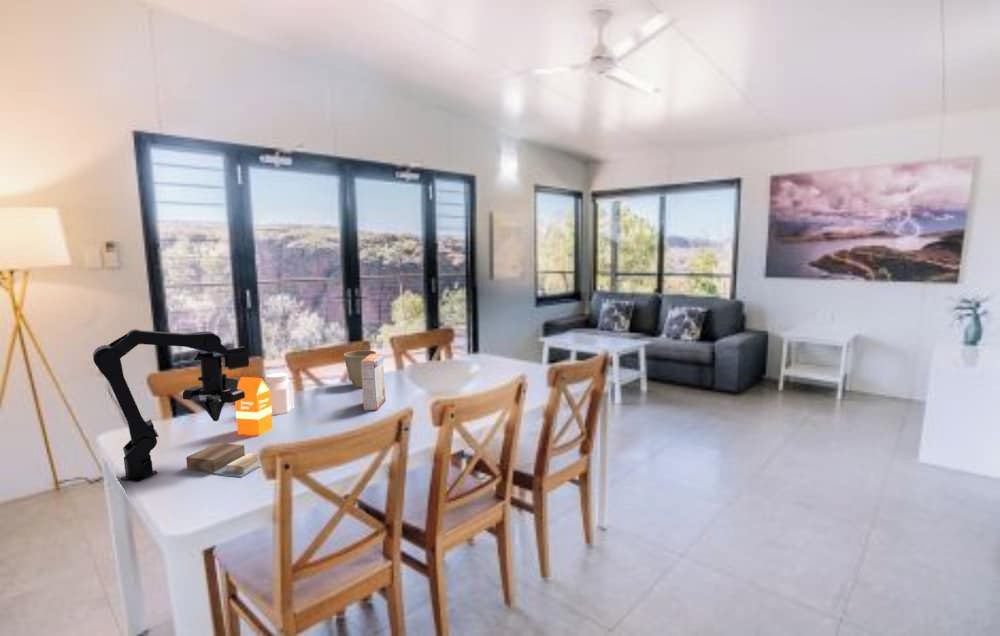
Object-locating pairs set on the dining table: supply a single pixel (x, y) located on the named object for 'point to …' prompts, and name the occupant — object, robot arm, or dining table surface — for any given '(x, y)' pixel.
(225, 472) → the mat
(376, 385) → the cracker box
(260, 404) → the orange juice
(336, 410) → the dining table surface
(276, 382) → the jar
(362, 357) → the plant pot
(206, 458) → the brown wooden flat block
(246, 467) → the beige rectangular block
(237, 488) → the dining table surface
